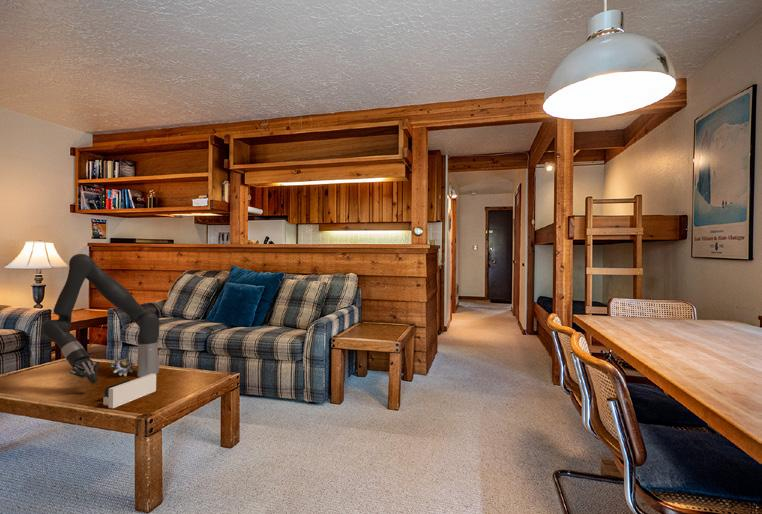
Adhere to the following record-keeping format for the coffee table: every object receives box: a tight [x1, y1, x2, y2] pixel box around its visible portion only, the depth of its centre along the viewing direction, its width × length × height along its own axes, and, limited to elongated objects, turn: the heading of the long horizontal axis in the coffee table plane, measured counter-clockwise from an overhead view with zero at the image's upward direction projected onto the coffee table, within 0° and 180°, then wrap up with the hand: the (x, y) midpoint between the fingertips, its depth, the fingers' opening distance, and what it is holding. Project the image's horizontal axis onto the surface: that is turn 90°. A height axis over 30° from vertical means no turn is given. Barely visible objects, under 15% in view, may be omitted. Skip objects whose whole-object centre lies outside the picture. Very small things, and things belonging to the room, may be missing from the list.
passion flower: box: [108, 356, 136, 377], centre depth 205 cm, size 11×11×12 cm
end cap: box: [104, 379, 131, 397], centre depth 172 cm, size 10×7×7 cm
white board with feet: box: [102, 374, 157, 409], centre depth 171 cm, size 22×7×8 cm, turn 166°
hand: (95, 382), depth 176 cm, fingers closed
